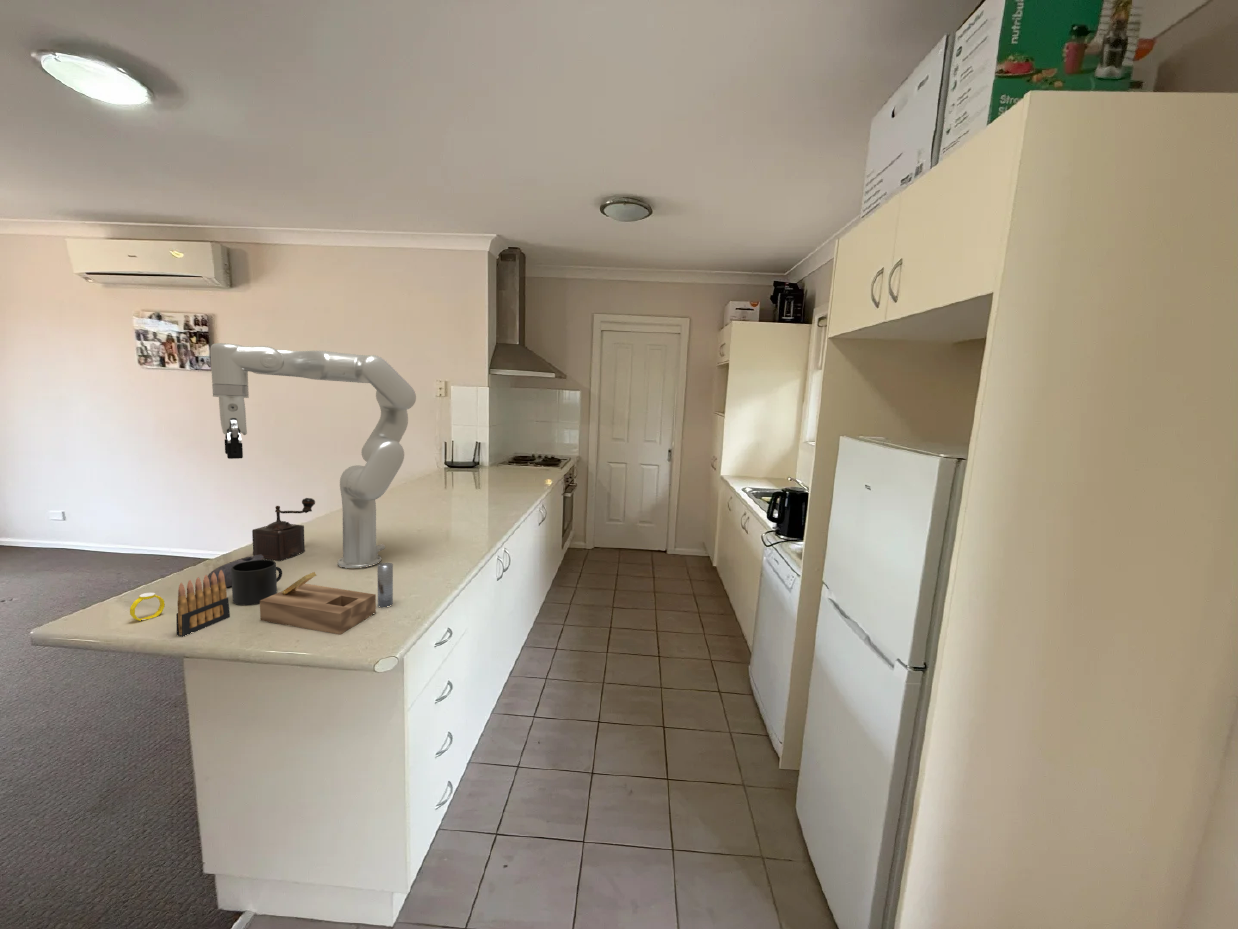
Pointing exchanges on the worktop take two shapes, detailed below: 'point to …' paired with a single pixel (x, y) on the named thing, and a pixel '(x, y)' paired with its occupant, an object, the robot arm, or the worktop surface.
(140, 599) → the yellow ring
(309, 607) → the walnut block
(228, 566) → the perforated stone tool
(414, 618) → the worktop surface
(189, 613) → the ammunition clip
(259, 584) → the mug
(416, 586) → the worktop surface
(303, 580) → the bar
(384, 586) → the steel pin
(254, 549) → the manual coffee grinder
